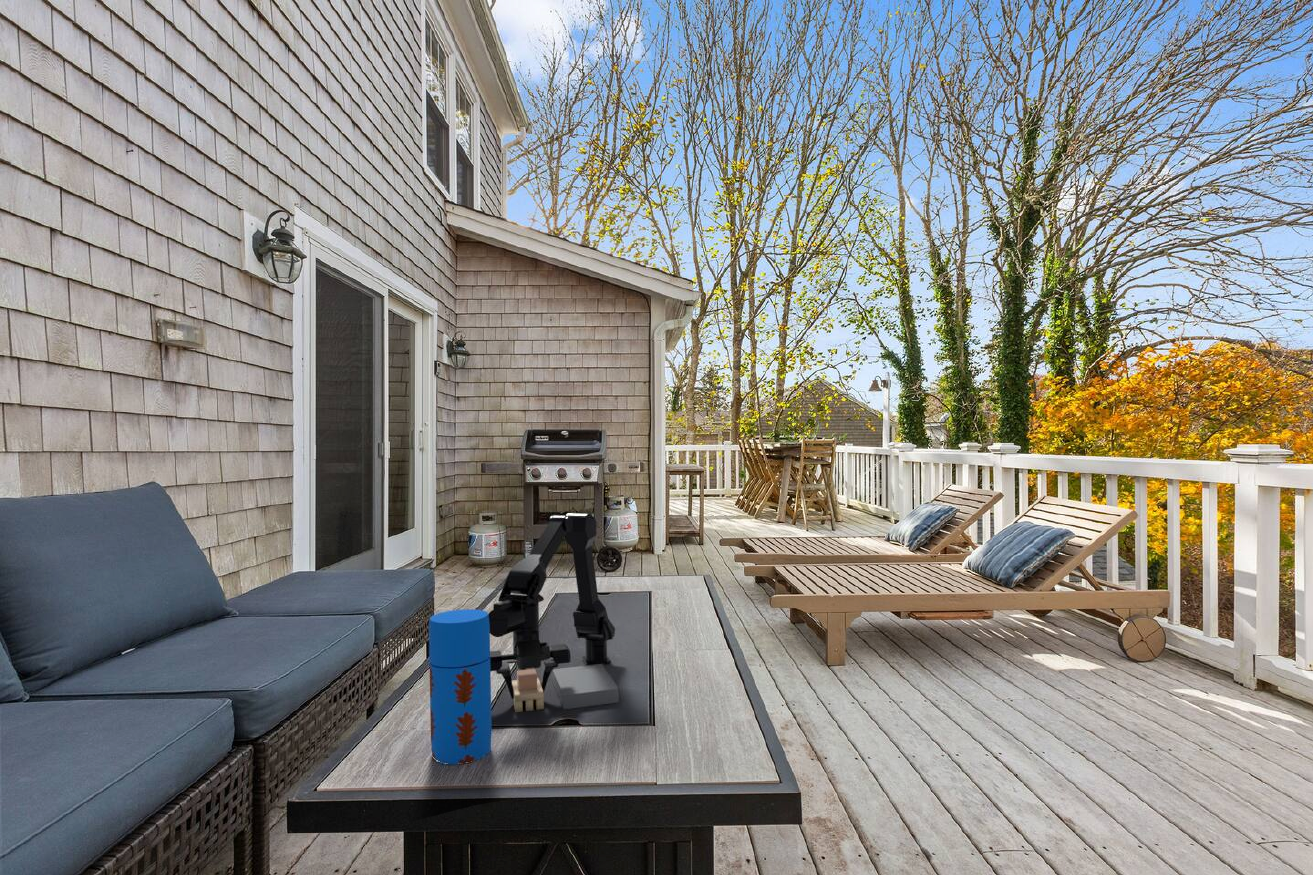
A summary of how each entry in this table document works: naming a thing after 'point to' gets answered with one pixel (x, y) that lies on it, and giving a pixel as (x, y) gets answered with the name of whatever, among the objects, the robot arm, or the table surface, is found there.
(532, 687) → the block
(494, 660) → the robot arm
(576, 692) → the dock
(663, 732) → the table surface
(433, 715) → the thermos
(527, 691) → the tray
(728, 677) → the table surface
